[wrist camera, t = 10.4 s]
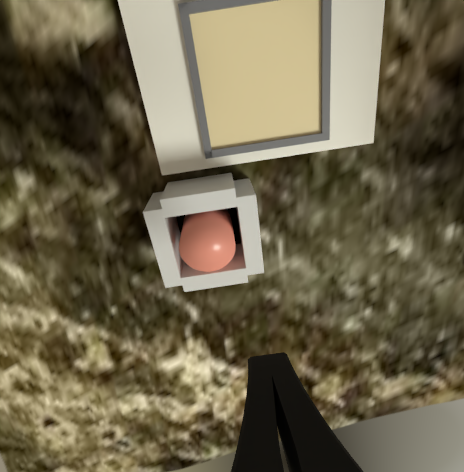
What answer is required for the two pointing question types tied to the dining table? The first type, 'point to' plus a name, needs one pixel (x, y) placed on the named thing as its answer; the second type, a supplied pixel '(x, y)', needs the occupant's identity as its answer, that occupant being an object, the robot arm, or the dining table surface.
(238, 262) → the button housing
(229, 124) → the sheet
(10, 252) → the dining table surface
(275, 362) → the robot arm
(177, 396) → the dining table surface
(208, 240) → the button
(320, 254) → the dining table surface
